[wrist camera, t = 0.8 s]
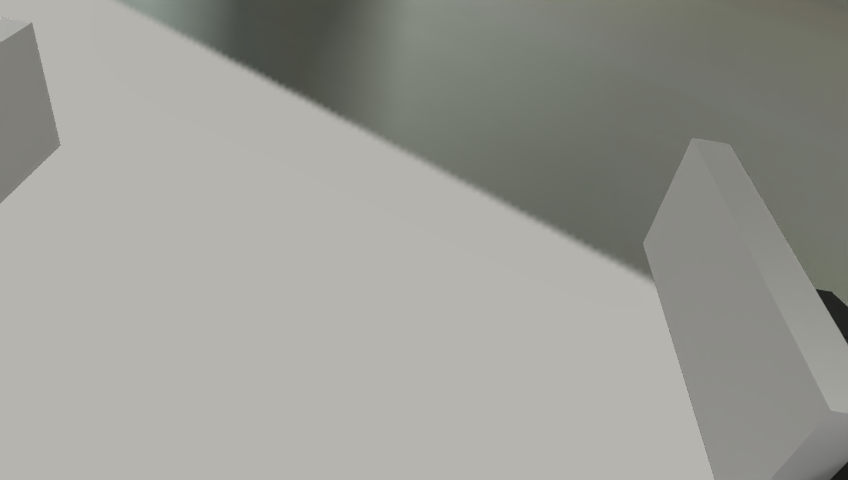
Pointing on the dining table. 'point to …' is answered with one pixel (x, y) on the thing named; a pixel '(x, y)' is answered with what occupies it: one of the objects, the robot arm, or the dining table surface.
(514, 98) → the dining table surface
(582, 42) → the dining table surface
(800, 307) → the robot arm
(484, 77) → the dining table surface
